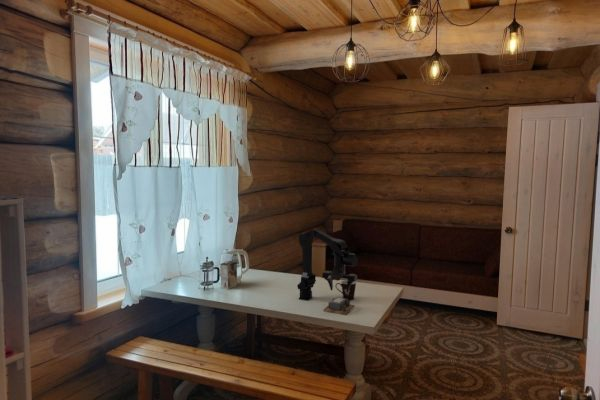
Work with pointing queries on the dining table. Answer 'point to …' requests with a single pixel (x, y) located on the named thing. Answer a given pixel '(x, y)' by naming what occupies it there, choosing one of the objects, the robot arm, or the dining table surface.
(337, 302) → the drive
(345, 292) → the coffee mug
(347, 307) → the wooden peg board
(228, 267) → the coffee box
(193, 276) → the dining table surface
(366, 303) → the dining table surface
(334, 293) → the dining table surface
